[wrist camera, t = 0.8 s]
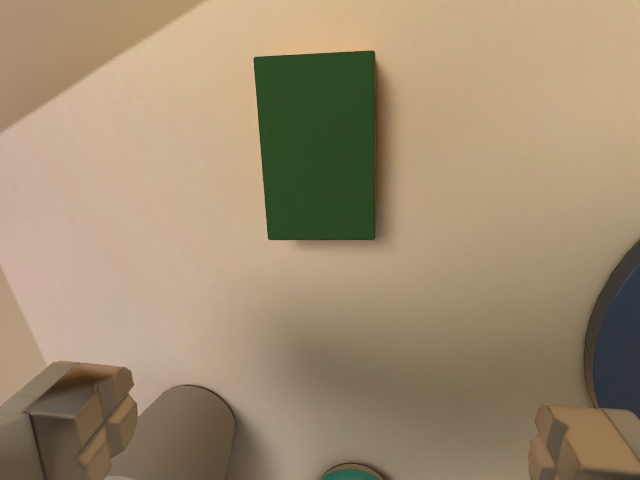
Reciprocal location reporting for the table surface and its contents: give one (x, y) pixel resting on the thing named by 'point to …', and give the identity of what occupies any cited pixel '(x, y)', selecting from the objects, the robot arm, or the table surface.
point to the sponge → (318, 144)
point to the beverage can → (351, 473)
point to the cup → (178, 439)
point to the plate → (616, 340)
